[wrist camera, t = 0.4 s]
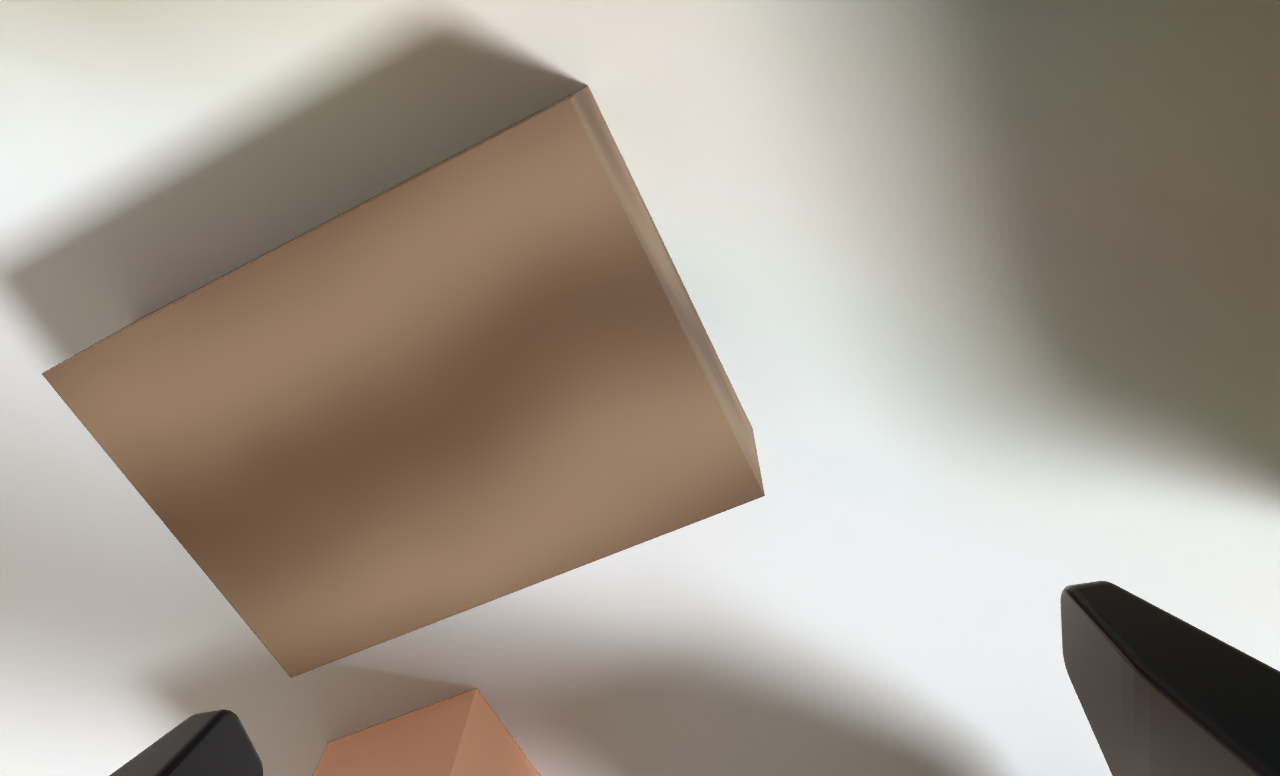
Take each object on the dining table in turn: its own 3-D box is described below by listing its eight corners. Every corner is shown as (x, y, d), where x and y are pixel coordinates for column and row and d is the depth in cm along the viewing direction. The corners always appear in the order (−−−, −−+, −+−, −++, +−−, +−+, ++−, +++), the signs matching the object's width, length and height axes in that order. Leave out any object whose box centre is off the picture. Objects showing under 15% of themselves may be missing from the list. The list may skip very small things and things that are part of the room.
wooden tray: (751, 421, 24) (764, 495, 20) (344, 587, 27) (290, 677, 23) (589, 84, 20) (570, 98, 17) (142, 317, 23) (41, 373, 19)
